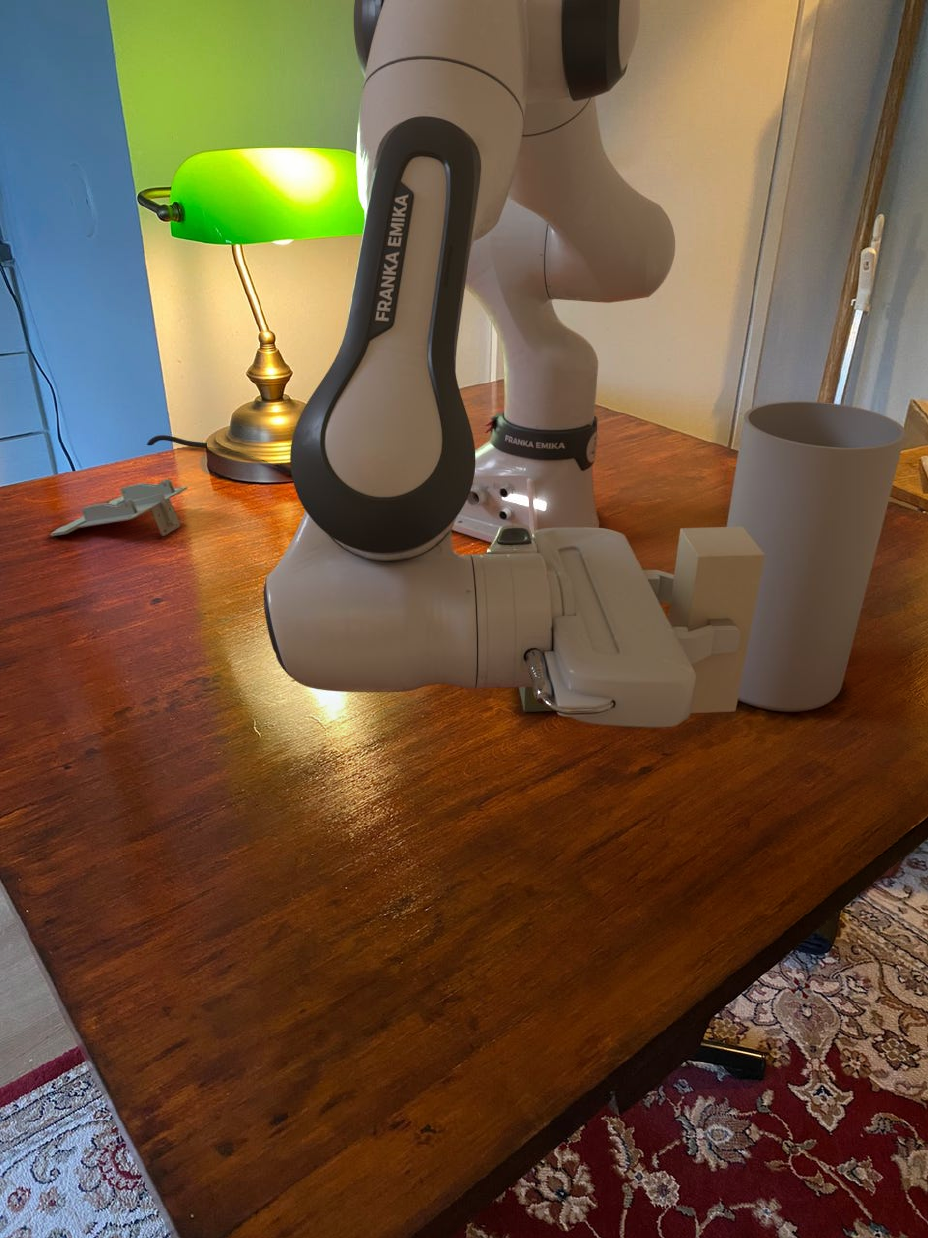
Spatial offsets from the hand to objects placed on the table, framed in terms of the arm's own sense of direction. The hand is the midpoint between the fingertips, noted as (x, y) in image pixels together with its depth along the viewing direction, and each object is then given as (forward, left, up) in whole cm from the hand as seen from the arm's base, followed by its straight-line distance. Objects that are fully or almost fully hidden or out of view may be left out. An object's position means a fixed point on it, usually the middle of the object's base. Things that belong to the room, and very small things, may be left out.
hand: (722, 613), depth 61 cm
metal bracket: (-79, +23, -19) cm, 84 cm away
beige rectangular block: (-1, 0, -7) cm, 7 cm away
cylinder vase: (+2, +23, -19) cm, 30 cm away
